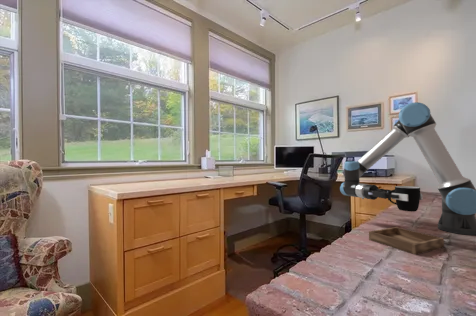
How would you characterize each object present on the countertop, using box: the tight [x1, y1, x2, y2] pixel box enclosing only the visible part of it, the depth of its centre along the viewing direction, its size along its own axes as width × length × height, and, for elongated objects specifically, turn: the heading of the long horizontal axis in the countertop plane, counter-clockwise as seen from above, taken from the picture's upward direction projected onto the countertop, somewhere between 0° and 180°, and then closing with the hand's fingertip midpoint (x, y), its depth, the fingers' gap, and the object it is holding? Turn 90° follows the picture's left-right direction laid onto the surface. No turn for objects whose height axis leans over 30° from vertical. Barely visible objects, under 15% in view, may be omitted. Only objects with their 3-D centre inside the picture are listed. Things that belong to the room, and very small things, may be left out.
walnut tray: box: [368, 226, 445, 256], centre depth 94 cm, size 18×18×4 cm
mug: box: [388, 185, 421, 213], centre depth 102 cm, size 12×9×10 cm
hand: (414, 197), depth 98 cm, fingers closed on mug, 9 cm apart
